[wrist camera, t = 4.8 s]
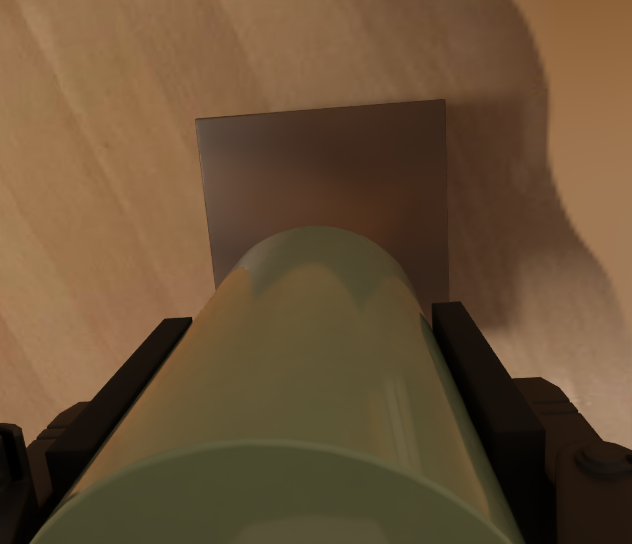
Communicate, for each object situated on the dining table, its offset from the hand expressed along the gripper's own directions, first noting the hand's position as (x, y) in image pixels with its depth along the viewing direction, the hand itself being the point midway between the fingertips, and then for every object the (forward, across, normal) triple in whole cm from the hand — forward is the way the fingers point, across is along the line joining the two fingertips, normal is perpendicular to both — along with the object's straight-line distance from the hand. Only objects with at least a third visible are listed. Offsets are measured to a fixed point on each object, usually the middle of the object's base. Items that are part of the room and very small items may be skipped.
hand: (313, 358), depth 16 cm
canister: (+2, 0, 0) cm, 2 cm away
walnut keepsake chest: (+21, 0, 0) cm, 21 cm away
